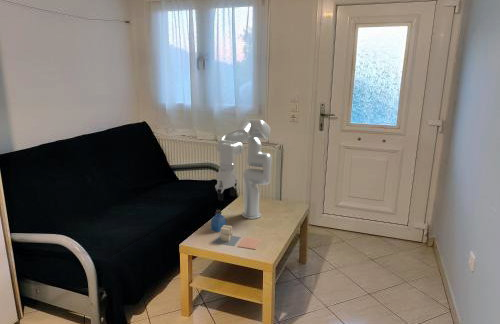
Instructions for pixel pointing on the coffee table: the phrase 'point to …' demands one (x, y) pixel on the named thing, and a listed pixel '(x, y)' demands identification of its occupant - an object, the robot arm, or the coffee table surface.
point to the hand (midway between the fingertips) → (226, 197)
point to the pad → (249, 243)
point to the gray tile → (230, 243)
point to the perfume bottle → (217, 221)
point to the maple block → (226, 233)
